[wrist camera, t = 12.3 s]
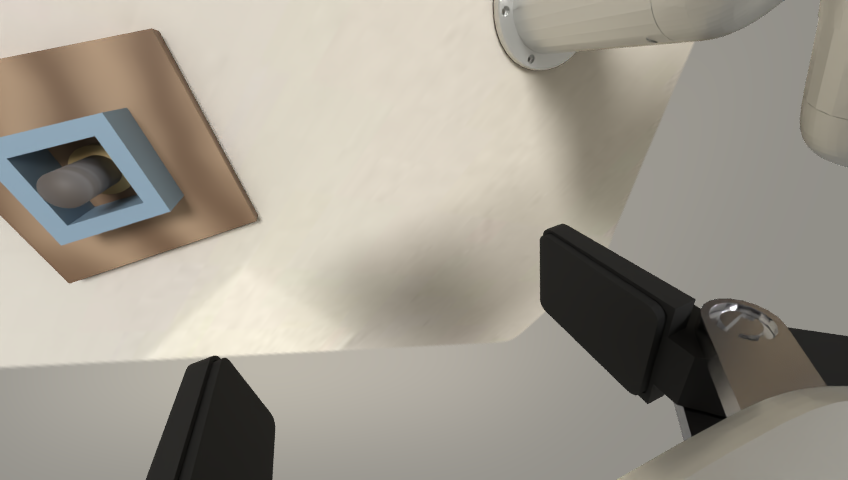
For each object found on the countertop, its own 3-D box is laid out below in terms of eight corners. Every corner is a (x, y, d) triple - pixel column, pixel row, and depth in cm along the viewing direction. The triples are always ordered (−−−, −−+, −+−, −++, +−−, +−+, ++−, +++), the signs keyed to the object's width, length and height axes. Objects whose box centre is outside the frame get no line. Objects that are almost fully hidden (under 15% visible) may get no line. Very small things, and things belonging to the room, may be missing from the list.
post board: (158, 31, 24) (114, 15, 18) (257, 215, 33) (251, 248, 26) (-106, 84, 21) (-271, 88, 15) (78, 274, 29) (21, 328, 23)
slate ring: (127, 107, 25) (101, 112, 21) (184, 195, 28) (170, 211, 25) (12, 135, 23) (-34, 145, 20) (89, 224, 27) (61, 245, 23)
